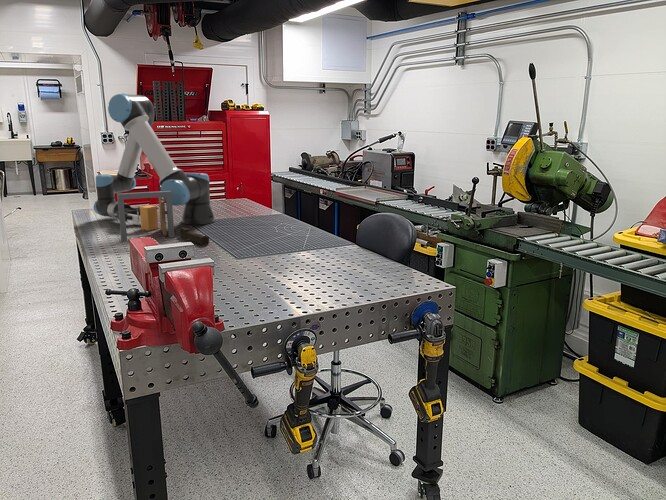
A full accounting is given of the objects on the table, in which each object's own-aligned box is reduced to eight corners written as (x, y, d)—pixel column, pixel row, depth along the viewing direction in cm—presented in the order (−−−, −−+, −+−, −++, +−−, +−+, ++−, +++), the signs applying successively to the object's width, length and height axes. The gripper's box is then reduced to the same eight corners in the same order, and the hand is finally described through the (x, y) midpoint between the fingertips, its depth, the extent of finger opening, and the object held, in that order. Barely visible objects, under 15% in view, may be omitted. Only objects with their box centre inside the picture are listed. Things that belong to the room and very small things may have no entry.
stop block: (141, 229, 222) (139, 206, 219) (150, 227, 226) (149, 205, 223) (149, 230, 219) (147, 208, 217) (158, 228, 223) (156, 206, 221)
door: (170, 234, 210) (168, 201, 206) (163, 235, 209) (161, 202, 205) (167, 228, 222) (165, 196, 218) (161, 228, 221) (158, 197, 217)
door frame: (173, 235, 211) (170, 190, 206) (174, 236, 209) (171, 191, 204) (121, 240, 201) (116, 193, 196) (122, 241, 200) (117, 194, 195)
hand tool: (210, 245, 198) (209, 233, 197) (200, 246, 195) (200, 235, 194) (186, 236, 211) (186, 225, 210) (178, 237, 209) (177, 227, 207)
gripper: (143, 214, 242) (174, 219, 231) (96, 223, 221) (127, 229, 211) (142, 199, 240) (172, 203, 229) (94, 206, 219) (126, 212, 209)
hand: (151, 216), depth 220 cm, fingers open, 13 cm apart
